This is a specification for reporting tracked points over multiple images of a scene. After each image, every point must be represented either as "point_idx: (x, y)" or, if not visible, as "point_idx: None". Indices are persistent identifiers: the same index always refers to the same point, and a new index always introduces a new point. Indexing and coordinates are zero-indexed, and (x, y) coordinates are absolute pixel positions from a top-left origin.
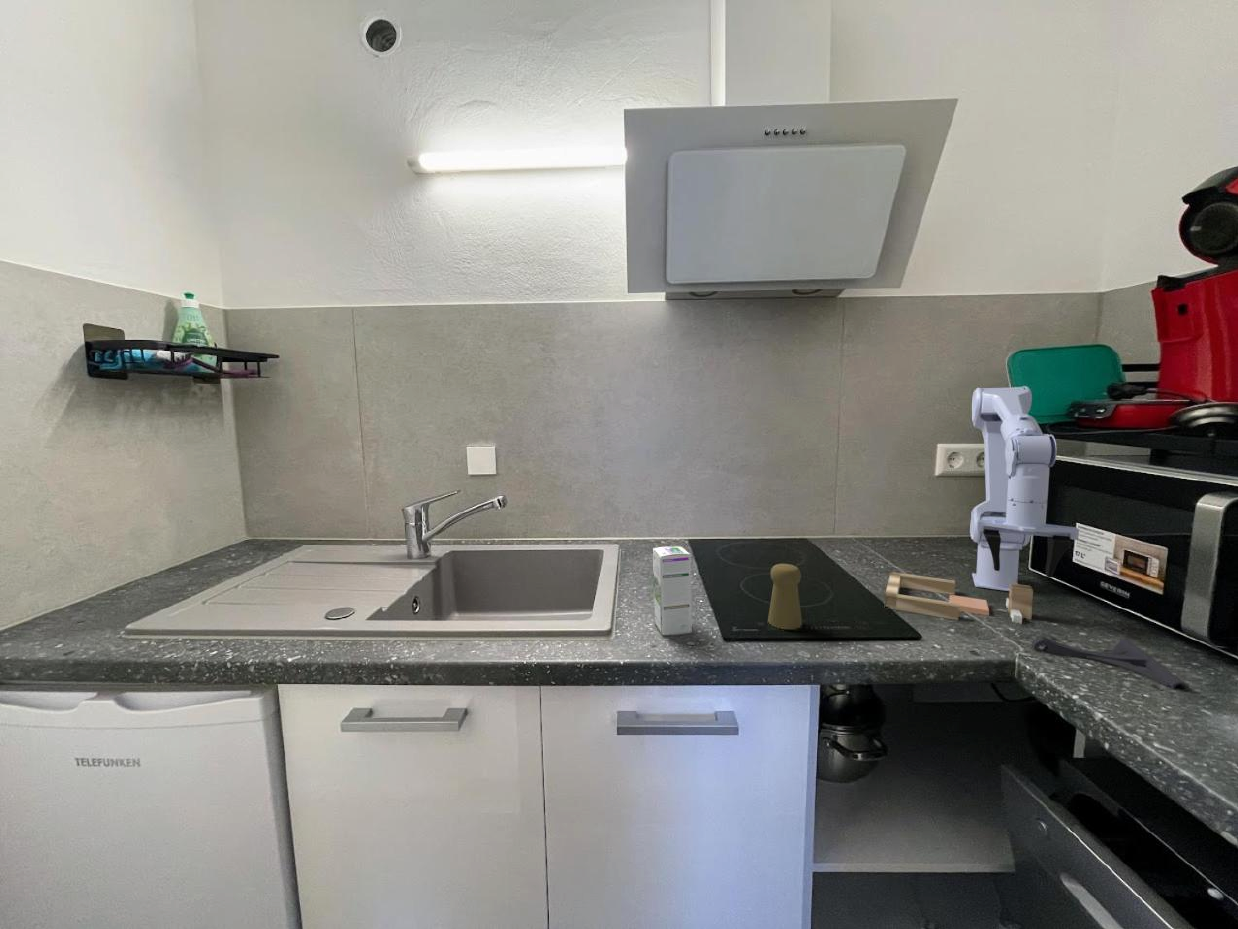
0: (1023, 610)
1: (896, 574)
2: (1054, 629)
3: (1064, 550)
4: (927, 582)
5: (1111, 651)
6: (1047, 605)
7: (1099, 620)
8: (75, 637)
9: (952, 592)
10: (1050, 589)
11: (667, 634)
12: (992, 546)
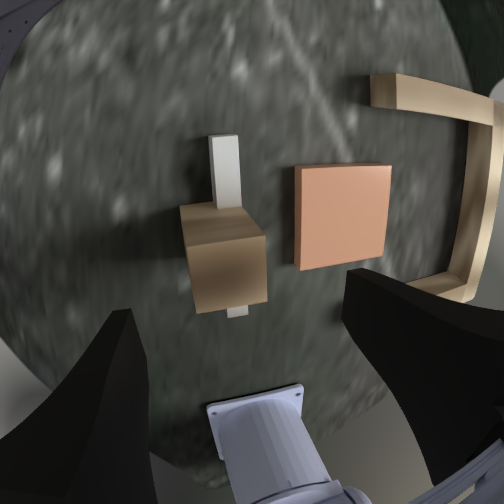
0: (204, 210)
1: (469, 289)
2: (119, 150)
3: (10, 440)
4: None
5: (10, 49)
6: None
7: (37, 318)
8: None
9: None
10: (156, 450)
11: None
12: (484, 314)
